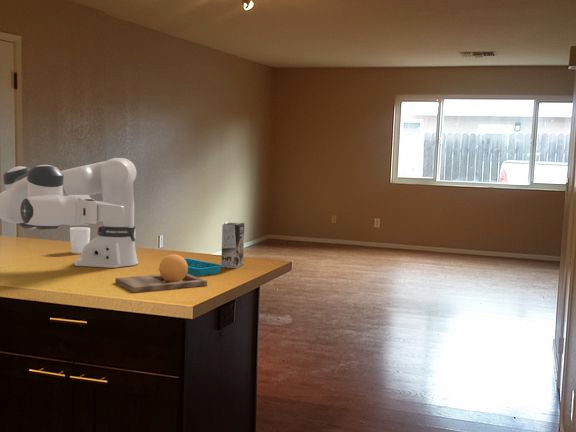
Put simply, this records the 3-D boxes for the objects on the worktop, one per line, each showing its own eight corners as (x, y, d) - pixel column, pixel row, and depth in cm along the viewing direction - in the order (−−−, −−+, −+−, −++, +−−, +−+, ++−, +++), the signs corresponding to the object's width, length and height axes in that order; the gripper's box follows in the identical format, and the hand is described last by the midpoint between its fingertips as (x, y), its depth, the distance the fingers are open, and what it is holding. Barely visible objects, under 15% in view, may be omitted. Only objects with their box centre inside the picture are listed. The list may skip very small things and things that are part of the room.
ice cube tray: (199, 277, 214) (199, 269, 214) (161, 269, 227) (161, 261, 227) (224, 273, 223) (224, 265, 222) (187, 266, 236) (187, 258, 236)
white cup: (72, 251, 260) (72, 226, 259) (92, 251, 261) (92, 227, 260) (67, 253, 253) (67, 229, 252) (87, 254, 253) (87, 229, 252)
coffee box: (237, 268, 232) (238, 225, 230) (220, 267, 233) (221, 224, 232) (244, 264, 241) (245, 222, 239) (227, 263, 242) (228, 221, 241)
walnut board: (133, 292, 186) (134, 287, 186) (115, 282, 199) (115, 278, 199) (207, 285, 200) (207, 280, 199) (185, 276, 213) (185, 272, 213)
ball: (184, 246, 205) (196, 270, 206) (162, 255, 208) (174, 279, 209) (172, 256, 196) (185, 281, 198) (149, 265, 200) (162, 290, 201)
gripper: (71, 217, 192) (116, 216, 200) (93, 224, 175) (140, 223, 183) (71, 196, 191) (116, 196, 199) (93, 201, 175) (141, 201, 183)
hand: (128, 209), depth 191 cm, fingers closed
